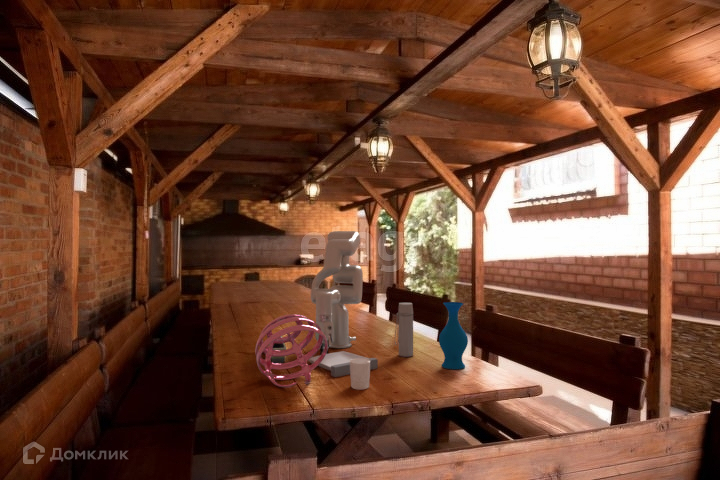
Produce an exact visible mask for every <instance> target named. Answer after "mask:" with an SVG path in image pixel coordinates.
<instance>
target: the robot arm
mask: <svg viewBox="0 0 720 480" xmlns="http://www.w3.org/2000/svg"><path fill="white" fill-rule="evenodd" d="M360 243H361V235H360V233H359V232H358V231H356V230H355V231H354V230H353V231H352V230H344V231H343V230H335V231H331V232H329V233H328V234H327V243H326V246H325V253H324V260H323V261H324V262H323V267H322V269H321V270H320V271H318V272H317V274H315V277H314V278H313V280H312V283H311V289H310V300H311V303H313V304H314V305H315V322H316V323H317V324H318V325H319V326H320V328H321V330H322V332H323V333H324V334H325V336H326V338H327V342H328V349H327V353H326V354H329V348H331V349H332V348H333V349H346V348H350V347H352V345H353V344H352V343H351V342H352V341H357V337H356V336H352V337H351V336H350V335H349V327H350V326H349V324H350V323H349V321H350V320H349V310H348V308H347V306H346V305H359V304H360V303H361V302H362V297H363V281H364V280H363V279H364V278H363V277H364V275H363V273H364V272H363V269H362V267H361V266H360V265H356V264H350V257H351V256H354V255H355V254H356V251H357V249H358V247H359V246H360ZM331 276H332V280H333V282H334V283H339V285H333V286H331V287H330V288H320V285H321V283H322V282H323V281H324V280H325V279H327V278H329V277H331ZM340 284H342V285H340ZM343 284H352V285H343ZM315 327H316V328H317V326H316V325H315ZM314 335H315V340H316V342H317V341H318V338H319V334H318V333H316V332H314ZM324 348H325V340H324V338H323V342H322V345H321V347H320V349H319V350H320V352H319V353H320V355H321V354H322V352H323V350H324ZM320 355H319V356H320Z"/></svg>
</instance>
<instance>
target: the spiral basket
mask: <svg viewBox="0 0 720 480" xmlns="http://www.w3.org/2000/svg"><path fill="white" fill-rule="evenodd" d="M292 322H295V323H296V324H295V325H291V326H287V327H284V328H282V329H280V330H278V331H276V332H275V333H273V332H272V330H274V329H276V328H278V327H279V326H282V325H285V324H288V323H292ZM303 322H306V323H307V324H303ZM316 326H317V328H316ZM303 331H305V332H306V331H307V332H308V333H307V334H306V336H305V338H304V339H303V340H302V341H301V342H299V343H297V342H296V338H298V337H299V336H300V335H301V333H302V332H303ZM315 332H316V333H318V334H319V338H318V341H317V340H316V343H315V344H314V346H313V347H312V349H311V350H310V351H308V352H307V353H306V354H303V352H302V351H303V349H305V347H307V346H308V345H309V344H310V342H311V341H312V339H313V337H314V335H315ZM285 335H286V336H285ZM265 336H266V337H267V338H266V339H265V340H263V339H264V337H265ZM281 336H282V337H281ZM323 338H324V340H325V348H324V350H323V352H322V354H321V356H320V355H319V356H320V357H319V358H318V359H317V360H316V361H315V362H314V363H313V364H312V363H311V364H310V365H309V364H308V362H309V361H308V360H309V359H310V358H312V357H315V355H316V354H317V352H319V350H320V349H321V348H320V347H321V345H322V342H323ZM275 343H279V344H280V343H285V344H286V343H291V345H292V346H291V347H290V348H286V350H273V345H274V344H275ZM269 344H270V345H269ZM327 349H328V350H329V348H328V342H327V338H326V336H325V334H324V333H323V332H322V330H321V328H320V326H319V325H318V324H317V323H316V321H314V320H313V319H310V318H308V317H306V316H305V315H301V314H294V313H293V314H292V313H290V314H283V315H282V316H278V317H276V318H275V319H273V320H271V321H270V322H269V323H268V324H266V325H265V326H264V327H263V329H262V331H261V332H260V334H259V337H258V339H257V342H256V344H255V351H254V352H255V356H256V364H257V368H258V369H259V371H260V372H261V374H262V375H263V376H264V377H266V378H267V379H268V380H269V381H270V382H271V383H272V384H273V385H274V386H277V387H279V388H282V389H283V388H284V389H286V388H287V389H288V388H292V387H293V386H295V385H297V382H293V383H289V384H280V383H278V382H277V381H287V380H293V379H297V378H300V377H304V379H305V380H304V384H305V385H307V386H308V385H309V384H310V383H311V382H312V377H311V376H312V375H311V372H312V371H313V370H314V369H315V368H317V367H319V366H318V365H319V364H320V363H321V362H322V360H323V359H324V357H325V355H326V353H327ZM263 353H264V354H265V359H263V358H262V354H263ZM291 355H296V359H295V360H292V361H288V362H284V363H272V360H271V357H272V356H275V357H283V356H285V357H288V356H291ZM261 365H262V366H263V367H264V369H265V370H264V369H263V368H262V366H261ZM299 366H300V368H301V369H300V370H299V371H297V372H293V373H289V374H274V373H273V372H272V370H287V369H292V368H295V367H299Z"/></svg>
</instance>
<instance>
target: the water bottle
mask: <svg viewBox="0 0 720 480" xmlns="http://www.w3.org/2000/svg"><path fill="white" fill-rule="evenodd" d="M413 307H414V306H413V303H412V302H398V309H397V310H398V312H397V313H395V314H396V322H395V328H396V329H398V339H397V343H396V341H394V344H395V346H397V345H398V356H399V357H403V358H410V357H413V356H414V308H413ZM396 335H397V330H395V332H394V337H397V336H396Z"/></svg>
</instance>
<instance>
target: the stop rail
mask: <svg viewBox="0 0 720 480" xmlns="http://www.w3.org/2000/svg"><path fill="white" fill-rule="evenodd" d="M368 358H369V357H368ZM369 360H370V371H371V370H376V369H377V370H378V364H379V363H378V358H375V357H370V358H369ZM348 375H350V362H348V363H343V364H338V365H333V366H331V371H330V376H331V377H334V378H338V377H344V376H348Z"/></svg>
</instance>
